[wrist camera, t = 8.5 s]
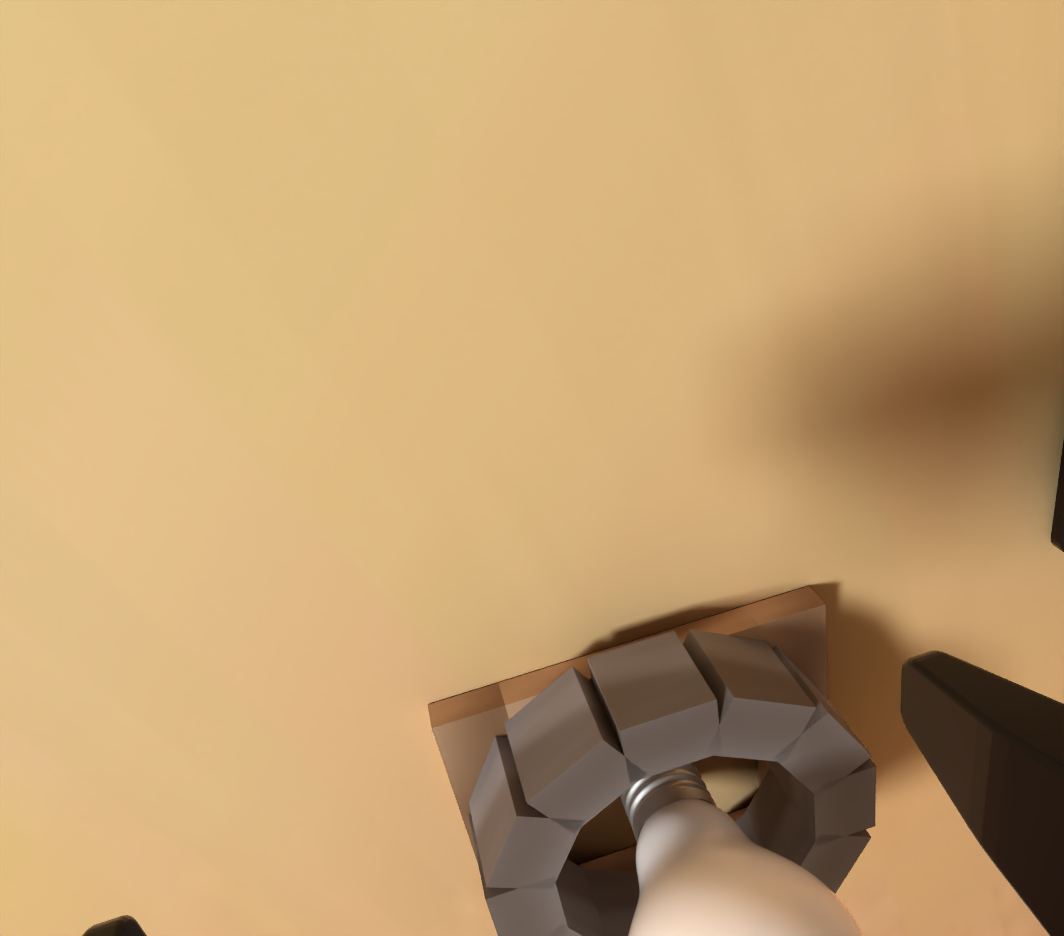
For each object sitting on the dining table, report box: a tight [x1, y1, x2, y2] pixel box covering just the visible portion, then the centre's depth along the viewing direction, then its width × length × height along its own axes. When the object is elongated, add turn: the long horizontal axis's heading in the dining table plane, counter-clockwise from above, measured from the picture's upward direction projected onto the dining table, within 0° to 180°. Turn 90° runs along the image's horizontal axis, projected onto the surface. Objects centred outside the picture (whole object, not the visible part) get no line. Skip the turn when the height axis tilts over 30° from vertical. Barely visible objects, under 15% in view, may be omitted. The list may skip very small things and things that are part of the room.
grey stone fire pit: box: [428, 586, 876, 936], centre depth 27 cm, size 12×12×4 cm
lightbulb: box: [620, 762, 864, 936], centre depth 24 cm, size 6×6×11 cm
